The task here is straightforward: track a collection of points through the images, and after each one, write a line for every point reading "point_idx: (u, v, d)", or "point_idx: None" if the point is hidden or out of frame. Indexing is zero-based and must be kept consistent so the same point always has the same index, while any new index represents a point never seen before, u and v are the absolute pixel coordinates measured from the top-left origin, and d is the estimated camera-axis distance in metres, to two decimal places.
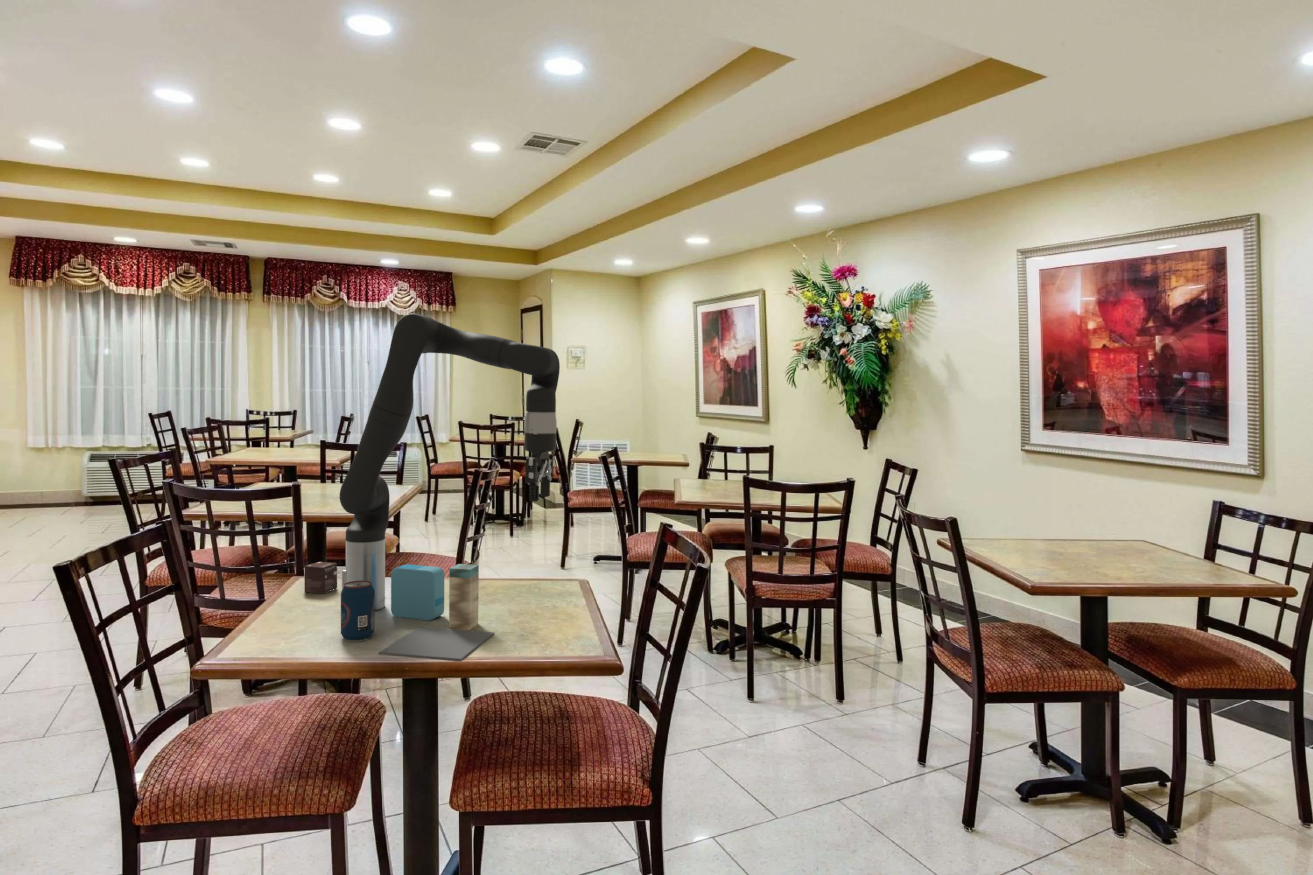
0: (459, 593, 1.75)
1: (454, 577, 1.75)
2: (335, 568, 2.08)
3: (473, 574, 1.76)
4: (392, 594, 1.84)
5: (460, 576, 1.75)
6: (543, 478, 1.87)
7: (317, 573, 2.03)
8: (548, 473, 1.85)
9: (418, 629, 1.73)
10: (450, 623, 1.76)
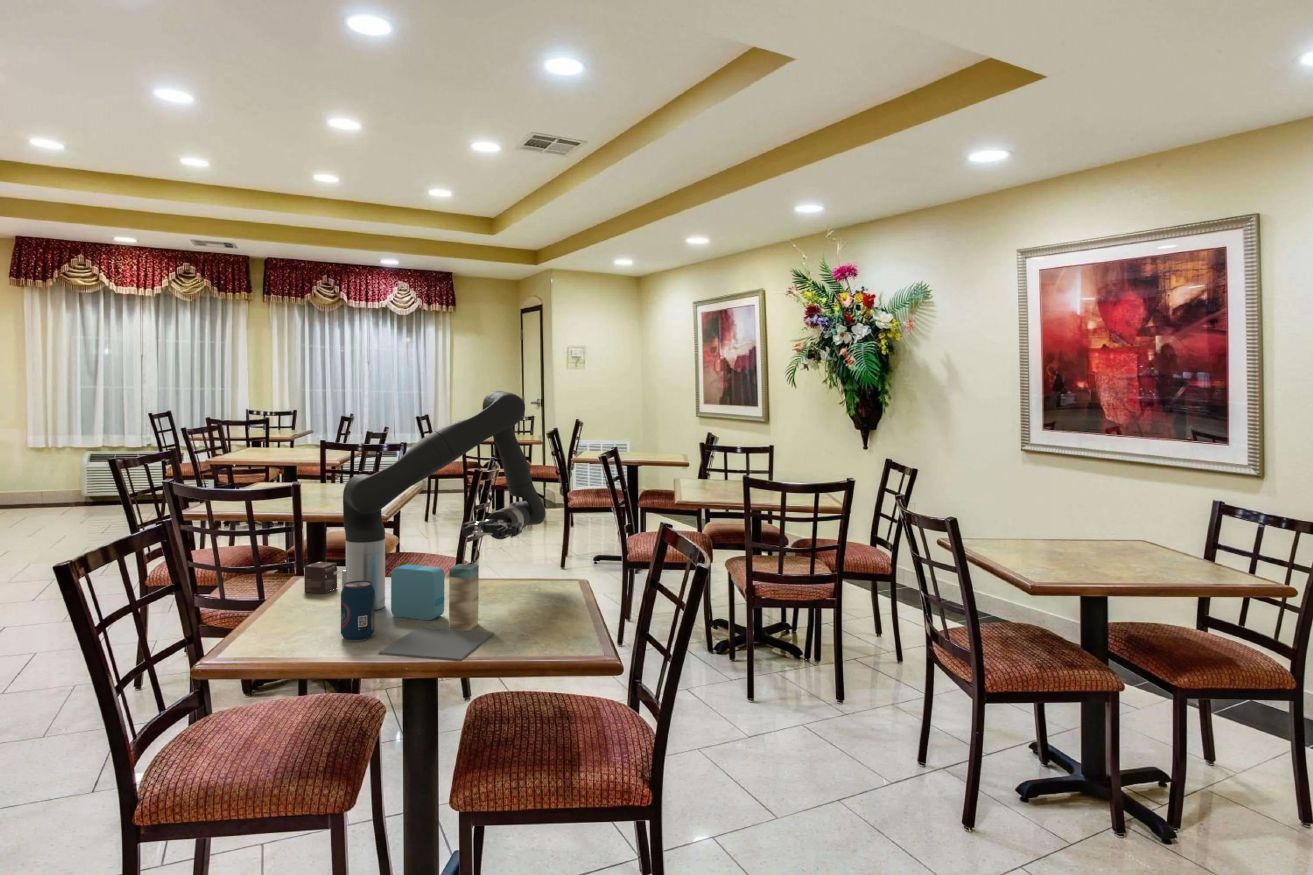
0: (459, 593, 1.75)
1: (454, 577, 1.75)
2: (335, 568, 2.08)
3: (473, 574, 1.76)
4: (392, 594, 1.84)
5: (460, 576, 1.75)
6: (472, 527, 1.92)
7: (317, 573, 2.03)
8: (479, 533, 1.93)
9: (418, 629, 1.73)
10: (450, 623, 1.76)
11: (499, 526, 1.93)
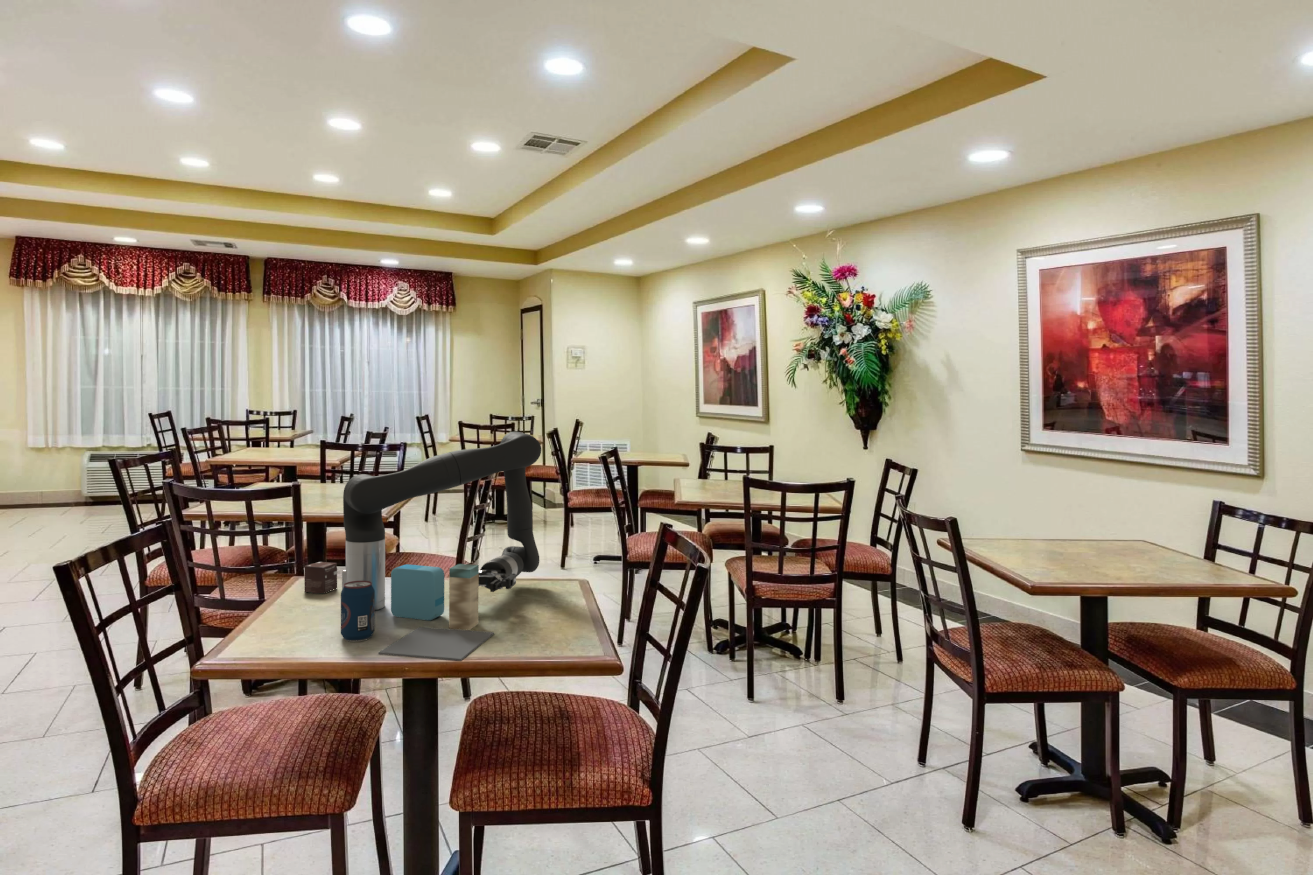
0: (459, 593, 1.75)
1: (454, 577, 1.75)
2: (335, 568, 2.08)
3: (473, 574, 1.76)
4: (392, 594, 1.84)
5: (460, 576, 1.75)
6: None
7: (317, 573, 2.03)
8: None
9: (418, 629, 1.73)
10: (450, 623, 1.76)
11: (493, 578, 1.90)
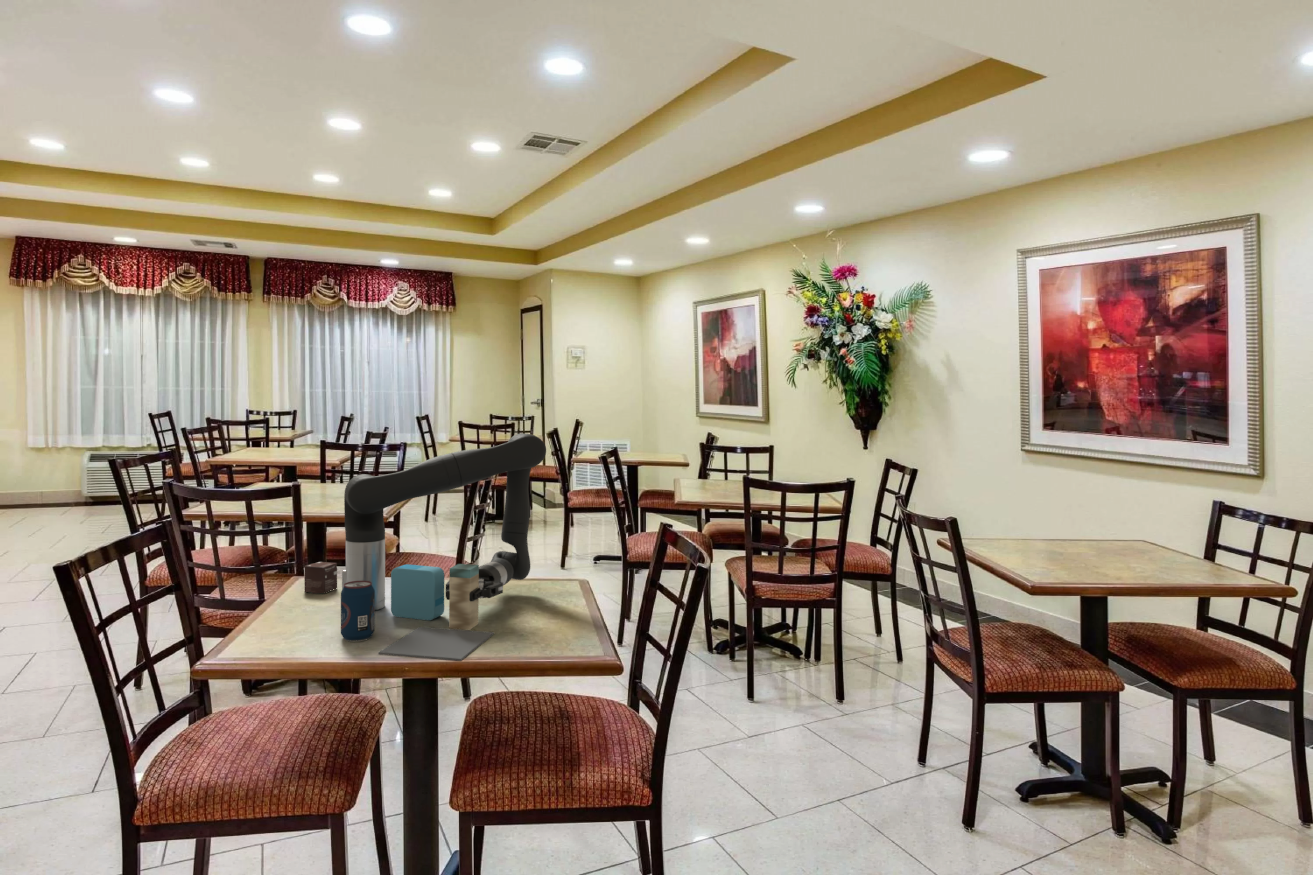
0: (459, 593, 1.75)
1: (454, 577, 1.75)
2: (335, 568, 2.08)
3: (473, 574, 1.76)
4: (392, 594, 1.84)
5: (460, 576, 1.75)
6: None
7: (317, 573, 2.03)
8: None
9: (418, 629, 1.73)
10: (450, 623, 1.76)
11: None
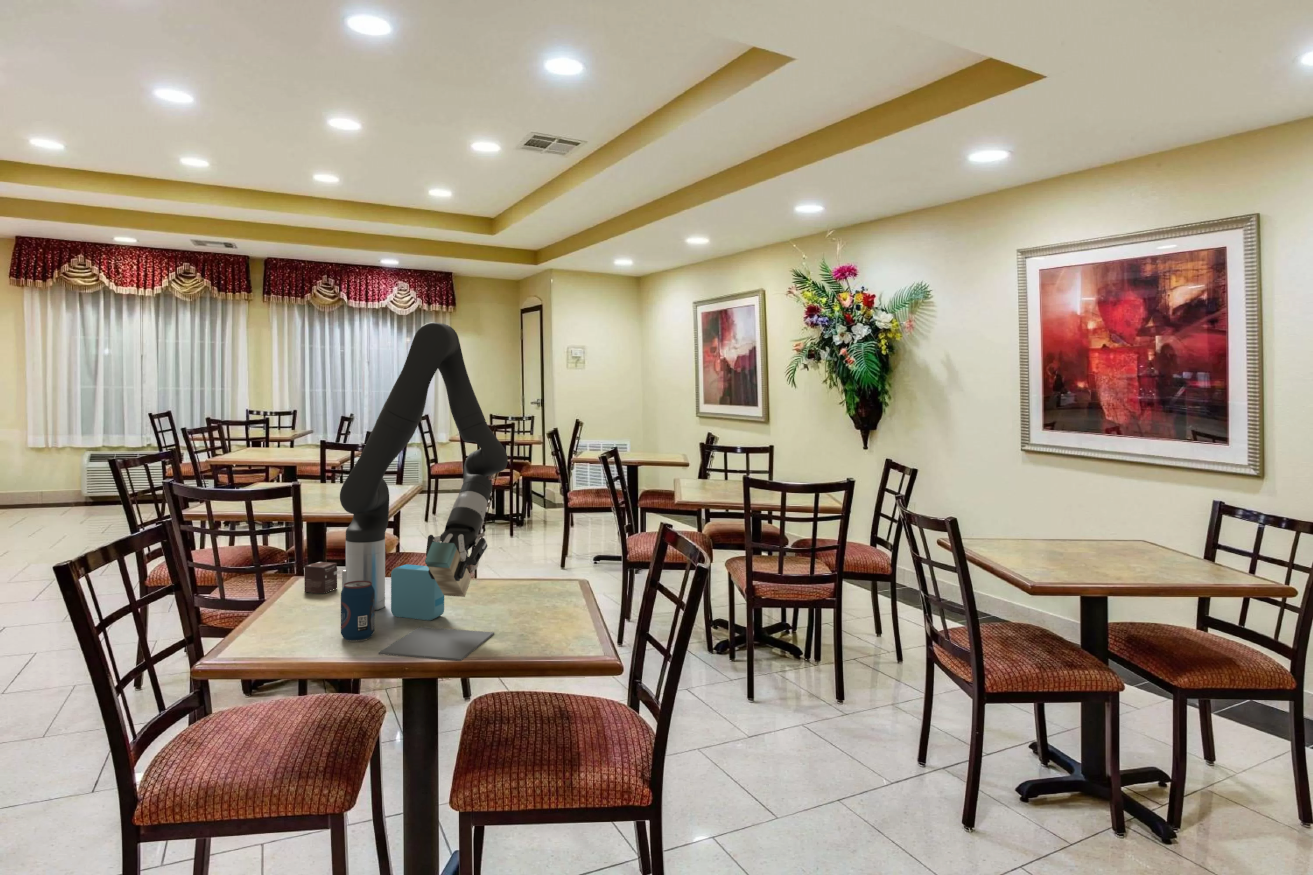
0: (443, 576, 1.67)
1: (433, 566, 1.64)
2: (335, 568, 2.08)
3: (451, 559, 1.64)
4: (392, 594, 1.84)
5: (439, 566, 1.64)
6: None
7: (317, 573, 2.03)
8: None
9: (418, 629, 1.73)
10: (443, 592, 1.72)
11: None
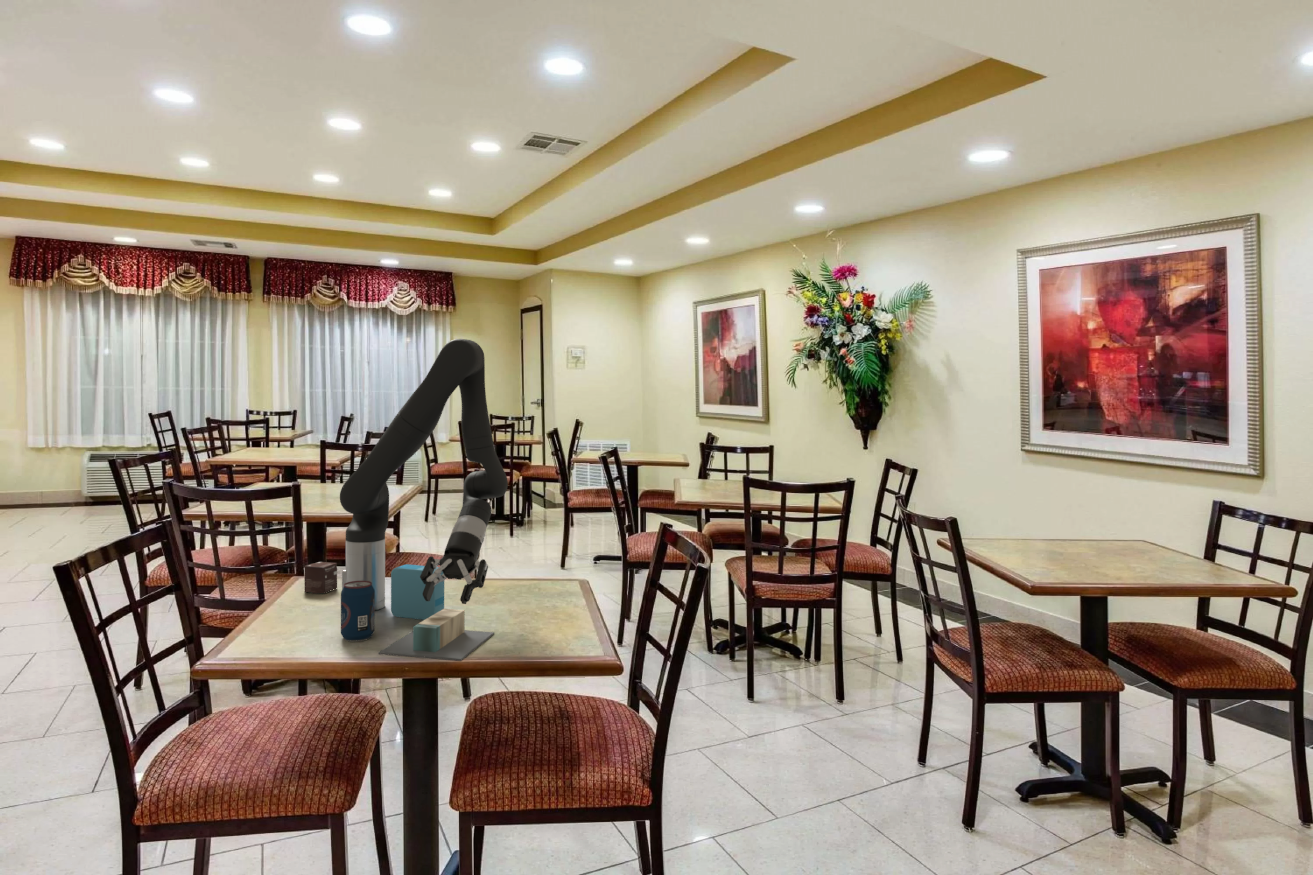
0: None
1: None
2: (335, 568, 2.08)
3: (439, 640, 1.60)
4: (392, 594, 1.84)
5: None
6: (432, 581, 1.71)
7: (317, 573, 2.03)
8: (442, 579, 1.73)
9: None
10: None
11: (461, 574, 1.71)
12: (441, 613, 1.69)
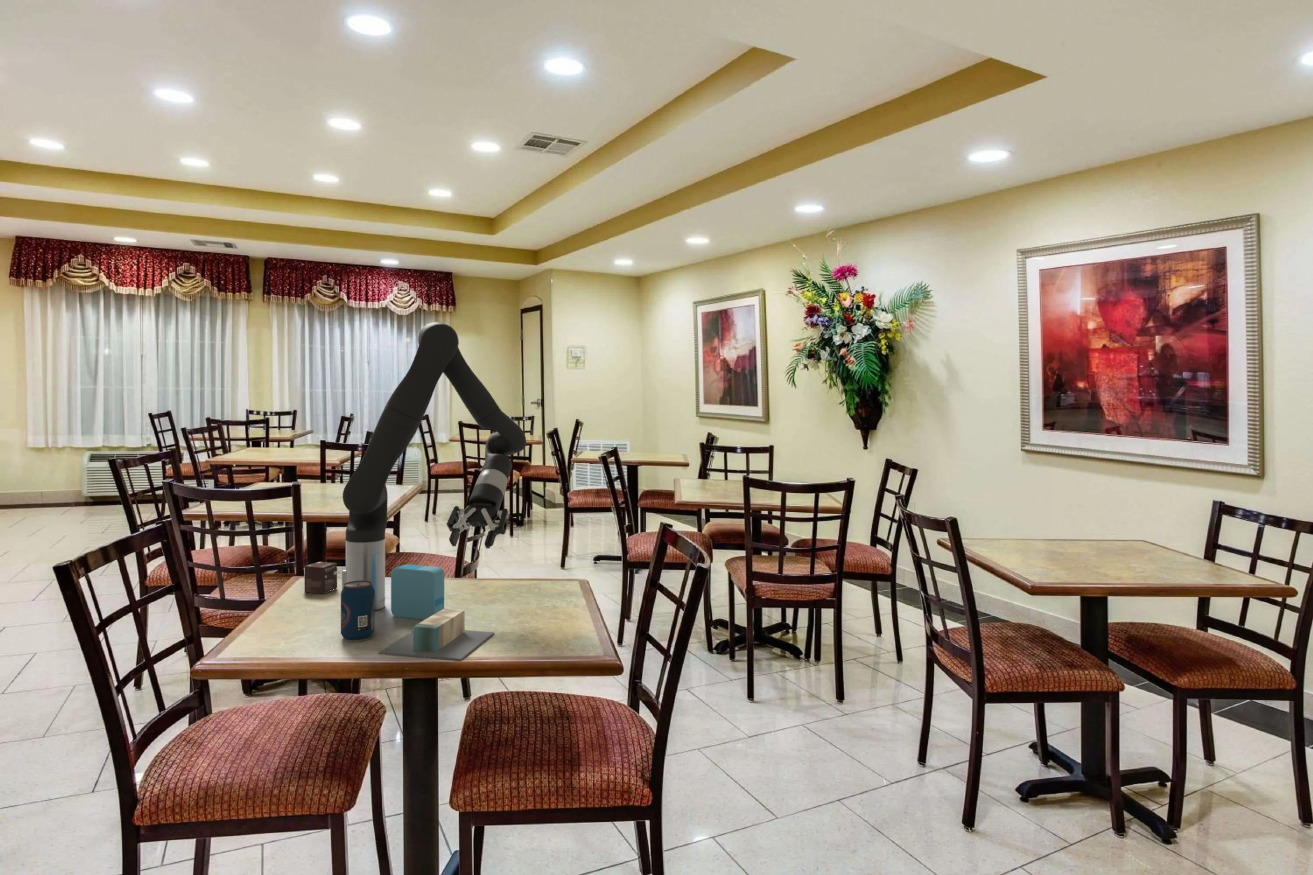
0: None
1: None
2: (335, 568, 2.08)
3: (439, 640, 1.60)
4: (392, 594, 1.84)
5: None
6: (458, 528, 1.83)
7: (317, 573, 2.03)
8: (467, 527, 1.85)
9: None
10: None
11: (485, 521, 1.84)
12: (441, 613, 1.69)
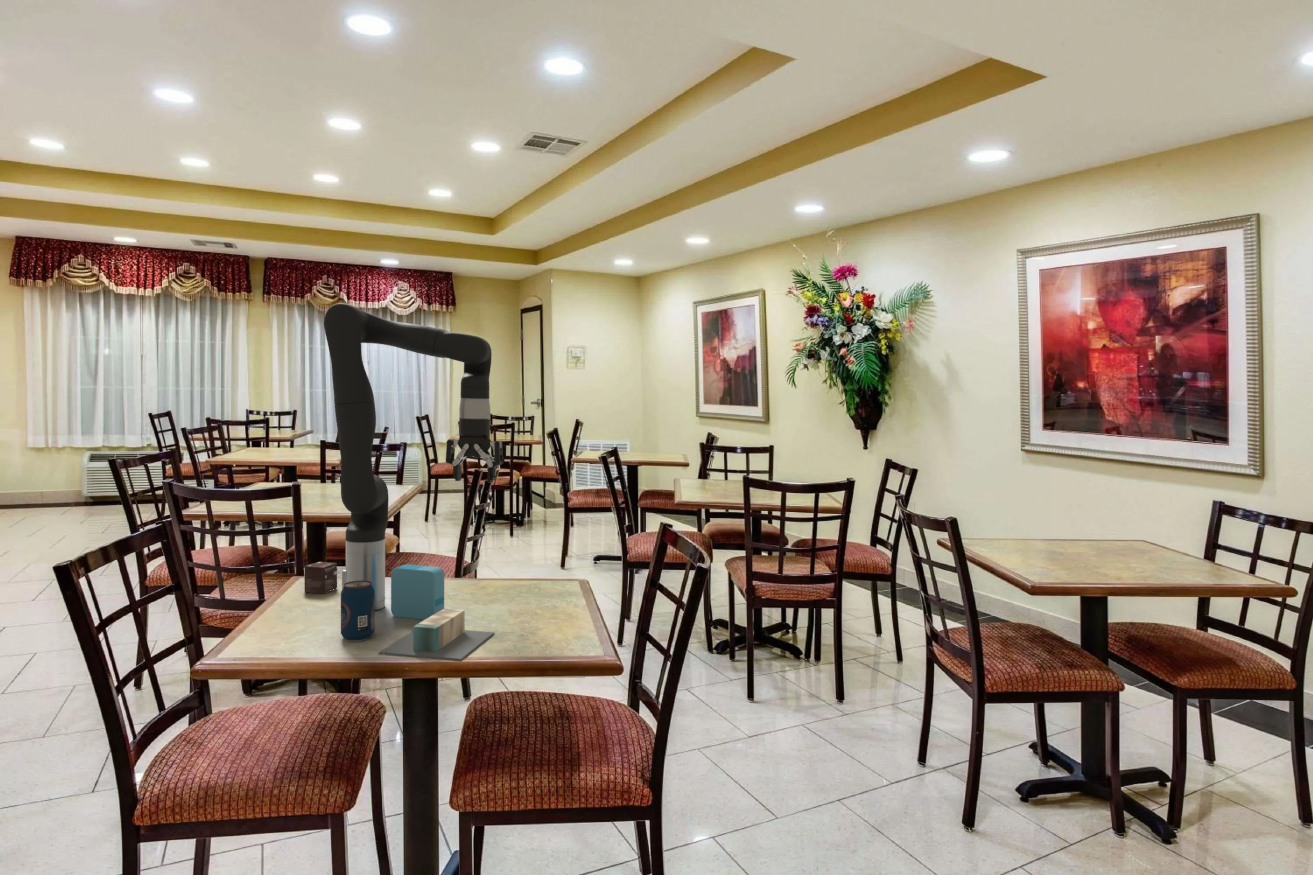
0: None
1: None
2: (335, 568, 2.08)
3: (439, 640, 1.60)
4: (392, 594, 1.84)
5: None
6: (458, 463, 1.92)
7: (317, 573, 2.03)
8: (465, 457, 1.93)
9: None
10: None
11: None
12: (441, 613, 1.69)
